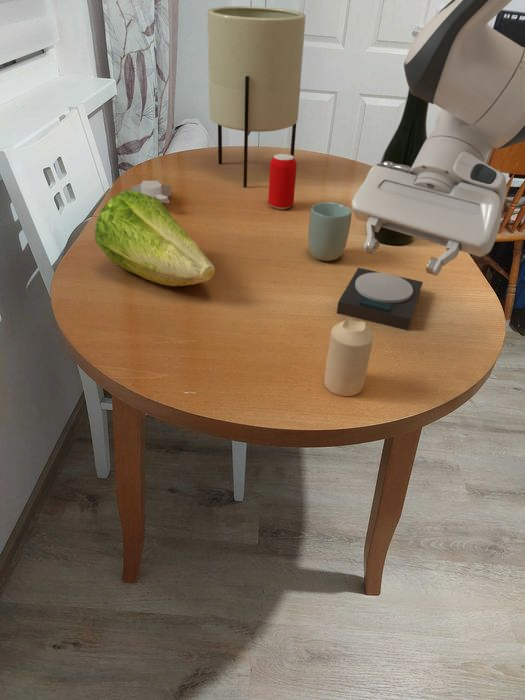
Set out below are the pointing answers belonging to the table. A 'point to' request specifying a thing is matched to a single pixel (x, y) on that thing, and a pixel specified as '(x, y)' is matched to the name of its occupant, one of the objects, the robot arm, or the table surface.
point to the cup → (328, 230)
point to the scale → (380, 298)
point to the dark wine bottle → (405, 152)
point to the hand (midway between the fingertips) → (398, 261)
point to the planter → (254, 70)
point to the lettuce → (149, 241)
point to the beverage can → (282, 181)
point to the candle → (348, 357)
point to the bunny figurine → (154, 190)
